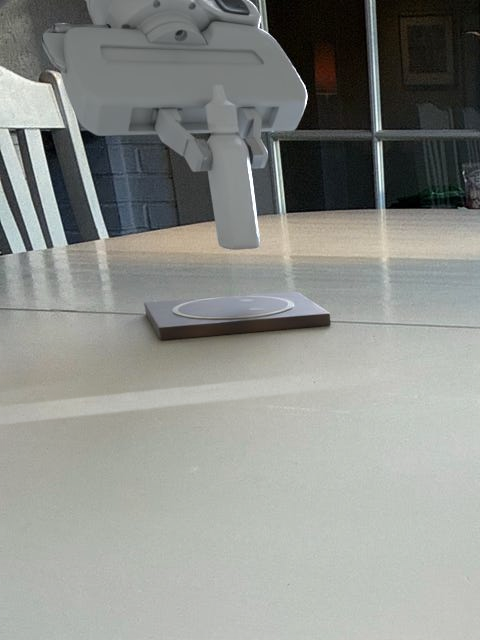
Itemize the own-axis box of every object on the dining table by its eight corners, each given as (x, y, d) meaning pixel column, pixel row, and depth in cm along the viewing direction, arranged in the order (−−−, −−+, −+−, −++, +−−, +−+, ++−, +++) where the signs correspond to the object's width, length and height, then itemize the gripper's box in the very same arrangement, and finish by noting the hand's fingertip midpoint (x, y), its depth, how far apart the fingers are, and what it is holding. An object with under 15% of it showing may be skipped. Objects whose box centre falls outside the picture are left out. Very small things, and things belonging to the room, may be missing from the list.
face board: (160, 340, 72) (158, 325, 71) (146, 314, 81) (143, 300, 81) (331, 325, 77) (329, 311, 76) (298, 302, 86) (296, 289, 86)
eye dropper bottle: (272, 241, 81) (254, 85, 75) (254, 250, 76) (233, 84, 70) (225, 242, 81) (202, 86, 75) (204, 250, 76) (178, 84, 70)
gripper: (34, -14, 67) (118, 137, 66) (270, 3, 79) (344, 131, 78) (28, 59, 72) (106, 200, 71) (250, 64, 84) (320, 185, 83)
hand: (232, 164), depth 75 cm, fingers closed on eye dropper bottle, 4 cm apart
